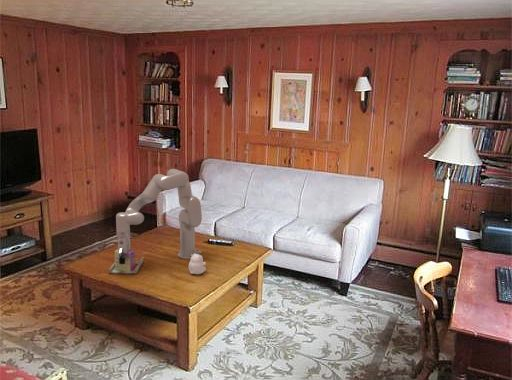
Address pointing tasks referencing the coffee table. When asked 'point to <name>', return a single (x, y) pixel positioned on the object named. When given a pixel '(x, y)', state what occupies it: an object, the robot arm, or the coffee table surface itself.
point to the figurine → (196, 264)
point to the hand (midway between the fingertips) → (124, 260)
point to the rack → (137, 266)
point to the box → (129, 261)
